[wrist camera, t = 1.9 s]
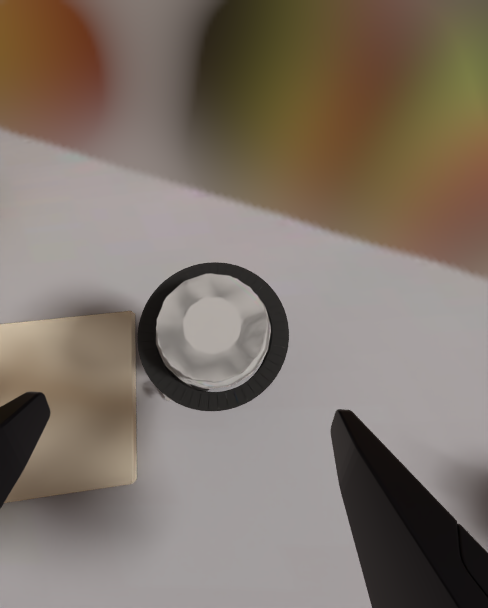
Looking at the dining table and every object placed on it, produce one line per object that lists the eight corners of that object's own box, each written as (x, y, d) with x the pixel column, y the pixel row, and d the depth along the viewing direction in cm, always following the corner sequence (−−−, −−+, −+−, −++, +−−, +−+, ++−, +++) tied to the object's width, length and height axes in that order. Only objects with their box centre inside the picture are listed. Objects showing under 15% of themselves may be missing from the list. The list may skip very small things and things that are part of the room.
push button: (190, 432, 17) (139, 483, 8) (148, 358, 18) (58, 323, 9) (278, 370, 18) (328, 347, 9) (233, 305, 20) (235, 224, 10)
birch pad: (136, 479, 16) (132, 483, 15) (-48, 506, 16) (-63, 512, 15) (135, 313, 19) (131, 310, 18) (-21, 330, 18) (-32, 327, 18)
